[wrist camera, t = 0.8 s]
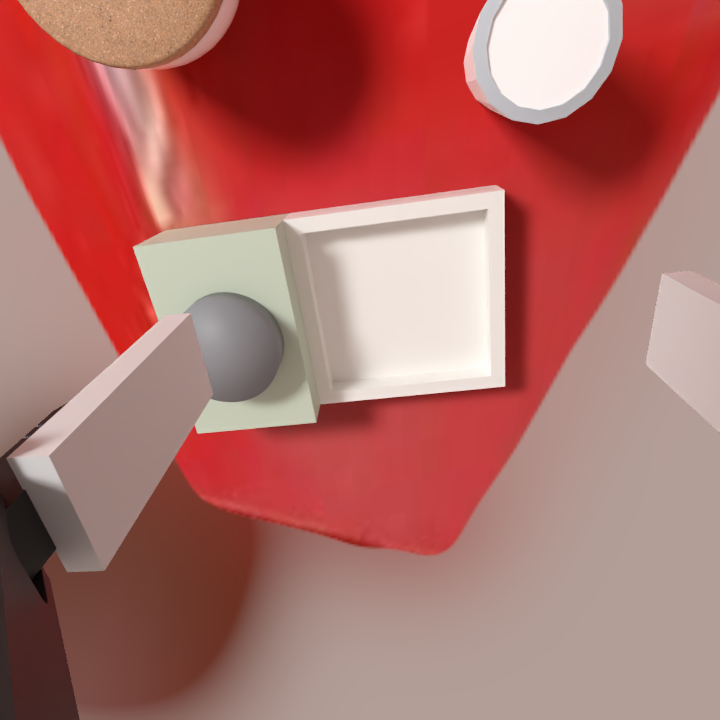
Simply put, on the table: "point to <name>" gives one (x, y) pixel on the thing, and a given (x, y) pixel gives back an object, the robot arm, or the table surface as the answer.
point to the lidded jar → (135, 29)
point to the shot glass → (542, 55)
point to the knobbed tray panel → (338, 303)
